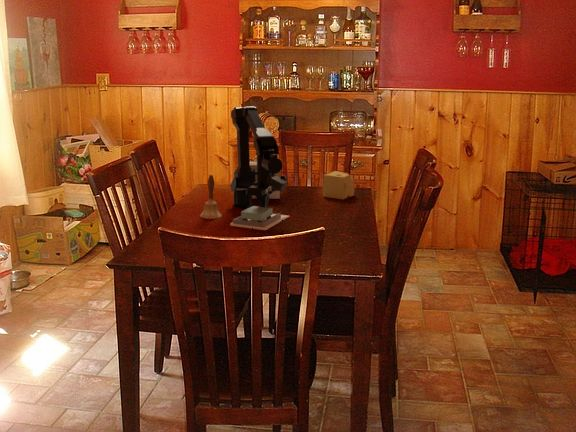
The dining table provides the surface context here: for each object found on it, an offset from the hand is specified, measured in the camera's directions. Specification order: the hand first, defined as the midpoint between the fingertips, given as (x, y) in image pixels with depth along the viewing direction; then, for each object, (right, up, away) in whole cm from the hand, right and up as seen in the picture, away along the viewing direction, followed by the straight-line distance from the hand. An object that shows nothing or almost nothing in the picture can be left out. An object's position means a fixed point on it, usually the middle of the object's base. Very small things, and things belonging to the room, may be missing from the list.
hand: (263, 209), depth 261 cm
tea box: (-2, +6, +38) cm, 39 cm away
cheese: (+31, +6, +42) cm, 53 cm away
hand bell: (-20, -3, +4) cm, 21 cm away
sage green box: (-2, -4, -6) cm, 8 cm away
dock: (-1, -4, -2) cm, 5 cm away
